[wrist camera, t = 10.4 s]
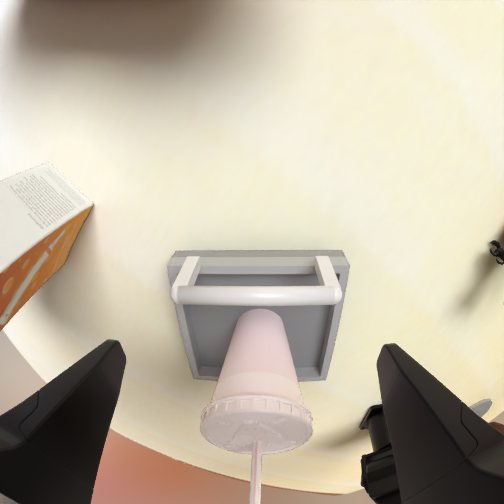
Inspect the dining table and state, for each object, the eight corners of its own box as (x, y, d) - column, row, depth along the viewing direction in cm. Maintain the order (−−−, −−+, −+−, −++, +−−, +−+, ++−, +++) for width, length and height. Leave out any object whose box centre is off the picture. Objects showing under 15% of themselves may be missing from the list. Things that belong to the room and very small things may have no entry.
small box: (66, 264, 23) (-16, 354, 11) (25, 224, 21) (-63, 294, 10) (97, 202, 20) (-19, 292, 8) (50, 158, 18) (-71, 214, 7)
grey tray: (320, 353, 26) (332, 419, 19) (200, 352, 27) (184, 417, 20) (339, 231, 20) (372, 291, 13) (178, 232, 21) (140, 290, 14)
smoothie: (229, 356, 24) (208, 510, 11) (210, 298, 21) (165, 484, 8) (302, 349, 23) (317, 509, 10) (297, 288, 20) (322, 487, 8)
